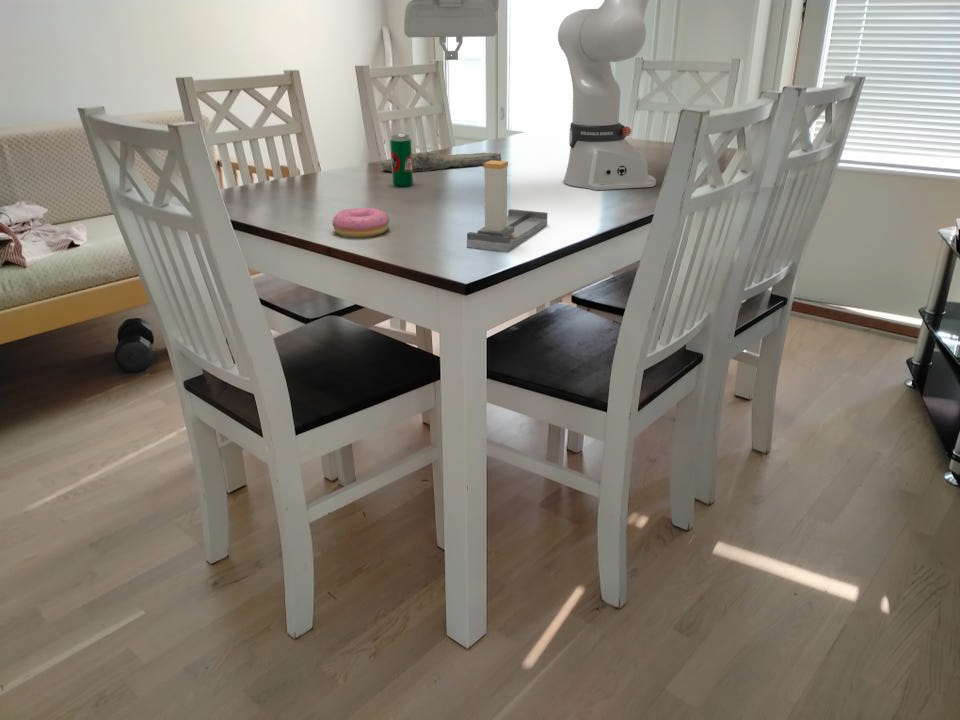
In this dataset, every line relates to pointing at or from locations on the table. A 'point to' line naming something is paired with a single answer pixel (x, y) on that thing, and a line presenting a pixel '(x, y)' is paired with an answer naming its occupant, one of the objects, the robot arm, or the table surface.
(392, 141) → the soda can
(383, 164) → the elongated rock
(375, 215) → the doughnut
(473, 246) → the fader rail
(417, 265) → the table surface
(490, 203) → the fader tab
